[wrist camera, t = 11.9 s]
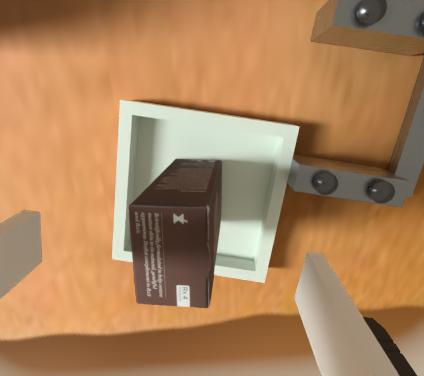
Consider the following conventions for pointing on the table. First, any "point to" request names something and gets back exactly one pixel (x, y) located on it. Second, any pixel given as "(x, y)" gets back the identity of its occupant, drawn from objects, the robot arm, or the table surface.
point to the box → (177, 234)
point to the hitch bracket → (414, 119)
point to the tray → (231, 175)
